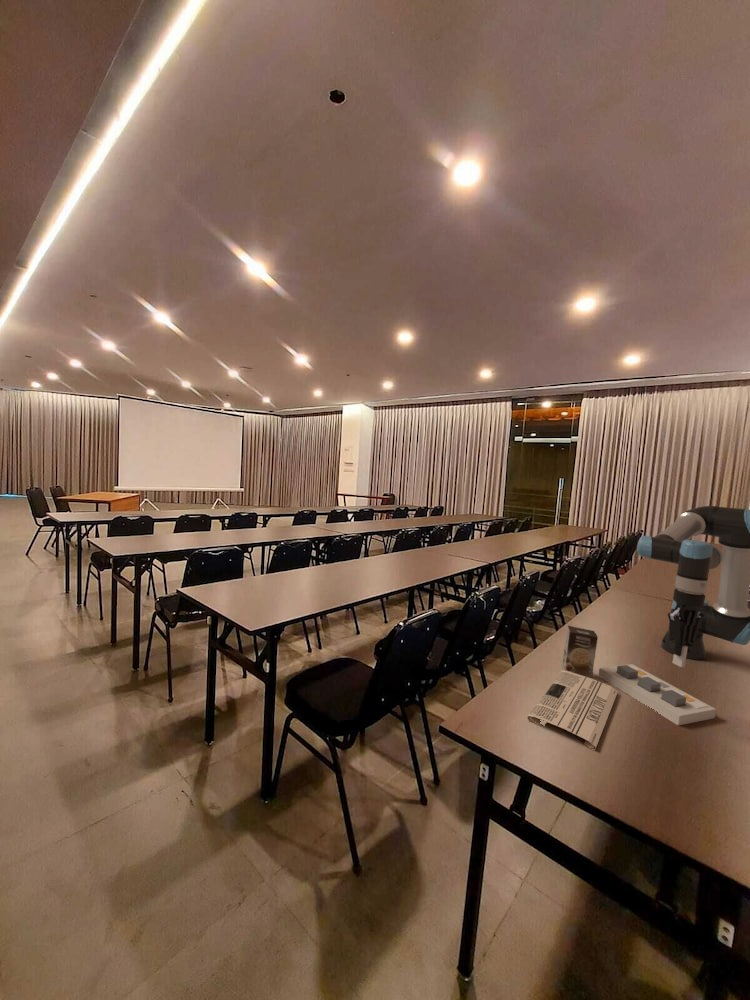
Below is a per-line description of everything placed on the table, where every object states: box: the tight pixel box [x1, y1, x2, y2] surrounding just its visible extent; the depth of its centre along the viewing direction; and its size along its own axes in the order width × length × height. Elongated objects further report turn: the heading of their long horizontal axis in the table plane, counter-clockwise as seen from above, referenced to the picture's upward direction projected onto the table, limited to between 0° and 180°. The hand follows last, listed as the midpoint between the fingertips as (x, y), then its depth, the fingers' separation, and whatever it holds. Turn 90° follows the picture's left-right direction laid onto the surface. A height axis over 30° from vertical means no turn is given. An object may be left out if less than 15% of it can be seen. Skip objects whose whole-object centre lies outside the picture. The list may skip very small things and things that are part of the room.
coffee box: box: [561, 625, 599, 679], centre depth 145 cm, size 9×6×16 cm
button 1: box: [616, 664, 638, 679], centre depth 141 cm, size 4×4×3 cm
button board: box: [598, 663, 717, 726], centre depth 134 cm, size 16×28×3 cm, turn 19°
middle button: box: [638, 677, 661, 693], centre depth 133 cm, size 4×4×3 cm
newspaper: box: [527, 669, 619, 751], centre depth 124 cm, size 37×19×3 cm, turn 141°
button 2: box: [661, 690, 686, 707], centre depth 126 cm, size 4×4×3 cm
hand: (678, 664), depth 125 cm, fingers closed
